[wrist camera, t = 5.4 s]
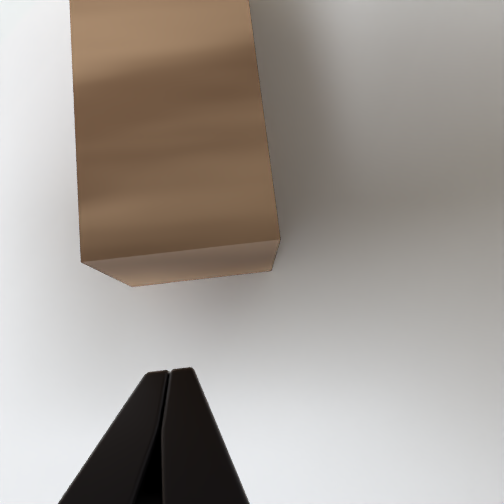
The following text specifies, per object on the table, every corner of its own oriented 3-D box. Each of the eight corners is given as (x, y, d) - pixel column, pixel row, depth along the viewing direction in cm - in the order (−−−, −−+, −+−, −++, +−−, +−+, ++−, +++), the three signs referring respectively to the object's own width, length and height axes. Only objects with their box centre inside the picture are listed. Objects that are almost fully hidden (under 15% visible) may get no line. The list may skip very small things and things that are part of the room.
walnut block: (280, 239, 11) (229, -144, 14) (80, 262, 11) (63, -129, 14) (271, 270, 16) (234, -16, 19) (131, 287, 16) (112, -4, 19)
